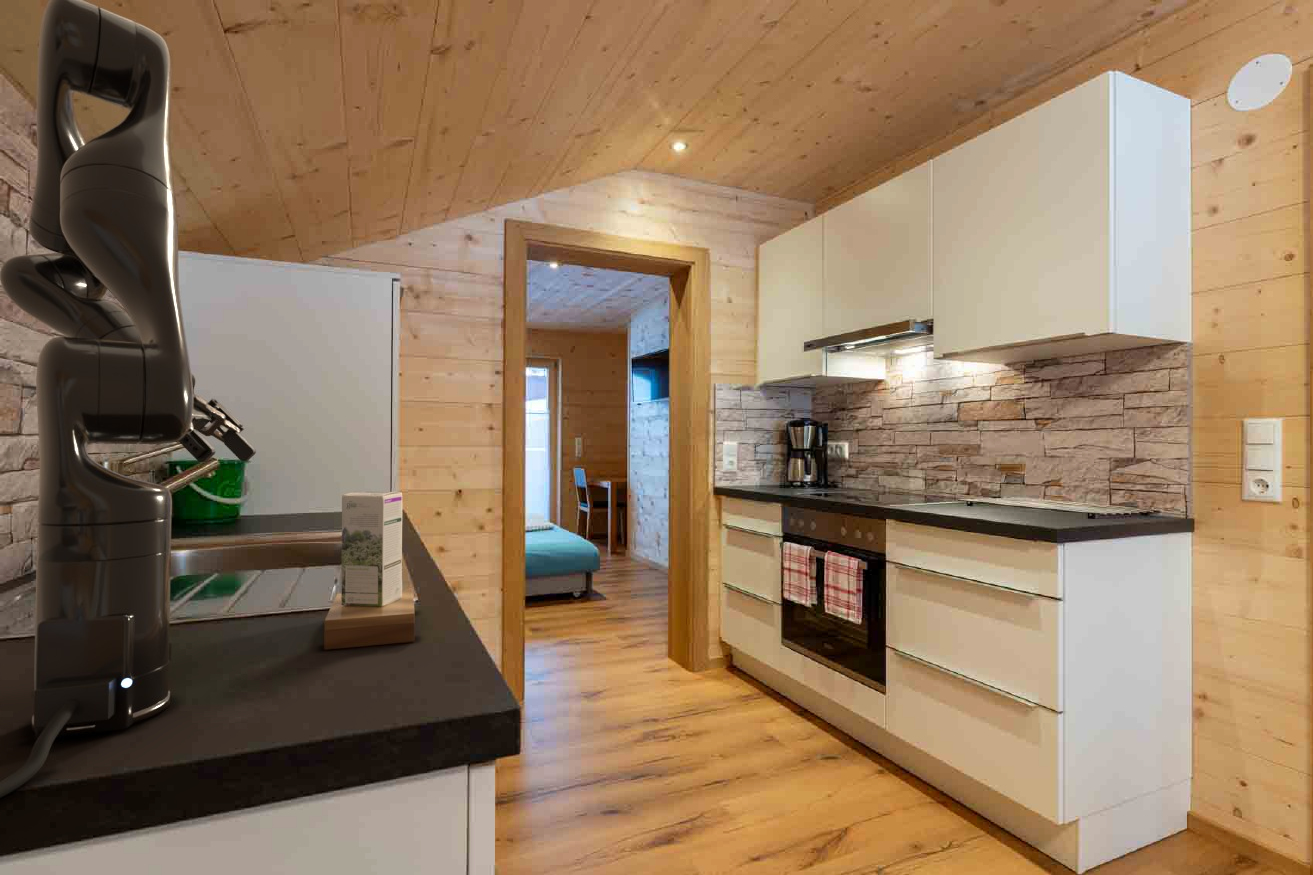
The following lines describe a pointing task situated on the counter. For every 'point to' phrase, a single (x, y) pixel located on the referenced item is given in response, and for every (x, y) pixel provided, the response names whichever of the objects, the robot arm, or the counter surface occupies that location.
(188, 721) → the counter surface
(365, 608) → the shelf
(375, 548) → the syrup box
